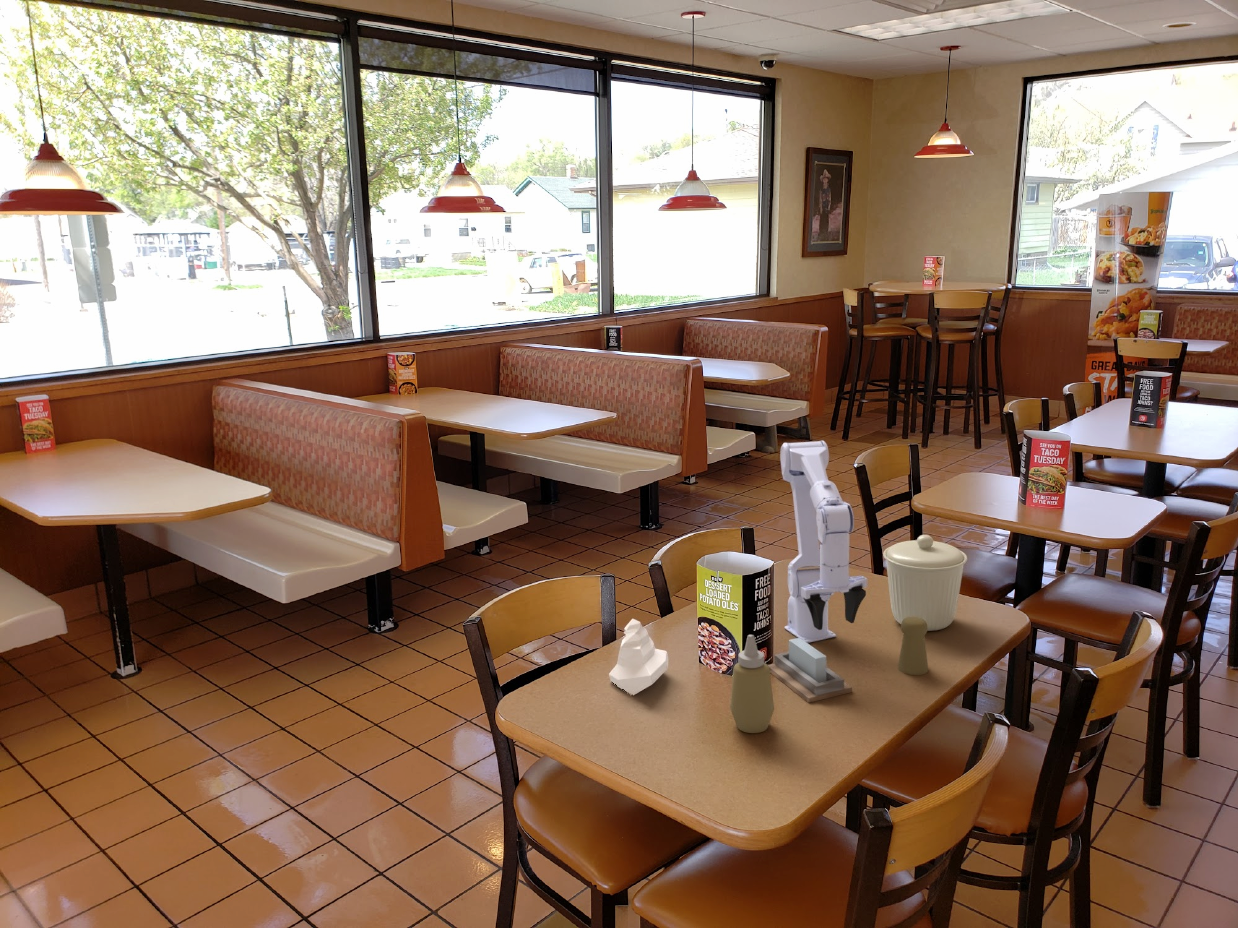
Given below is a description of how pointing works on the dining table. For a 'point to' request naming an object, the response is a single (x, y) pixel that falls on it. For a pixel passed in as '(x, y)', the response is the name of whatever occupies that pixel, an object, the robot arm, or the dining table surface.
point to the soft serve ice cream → (638, 660)
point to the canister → (924, 580)
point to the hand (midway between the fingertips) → (833, 624)
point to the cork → (913, 647)
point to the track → (807, 680)
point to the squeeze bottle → (751, 690)
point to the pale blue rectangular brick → (807, 659)
